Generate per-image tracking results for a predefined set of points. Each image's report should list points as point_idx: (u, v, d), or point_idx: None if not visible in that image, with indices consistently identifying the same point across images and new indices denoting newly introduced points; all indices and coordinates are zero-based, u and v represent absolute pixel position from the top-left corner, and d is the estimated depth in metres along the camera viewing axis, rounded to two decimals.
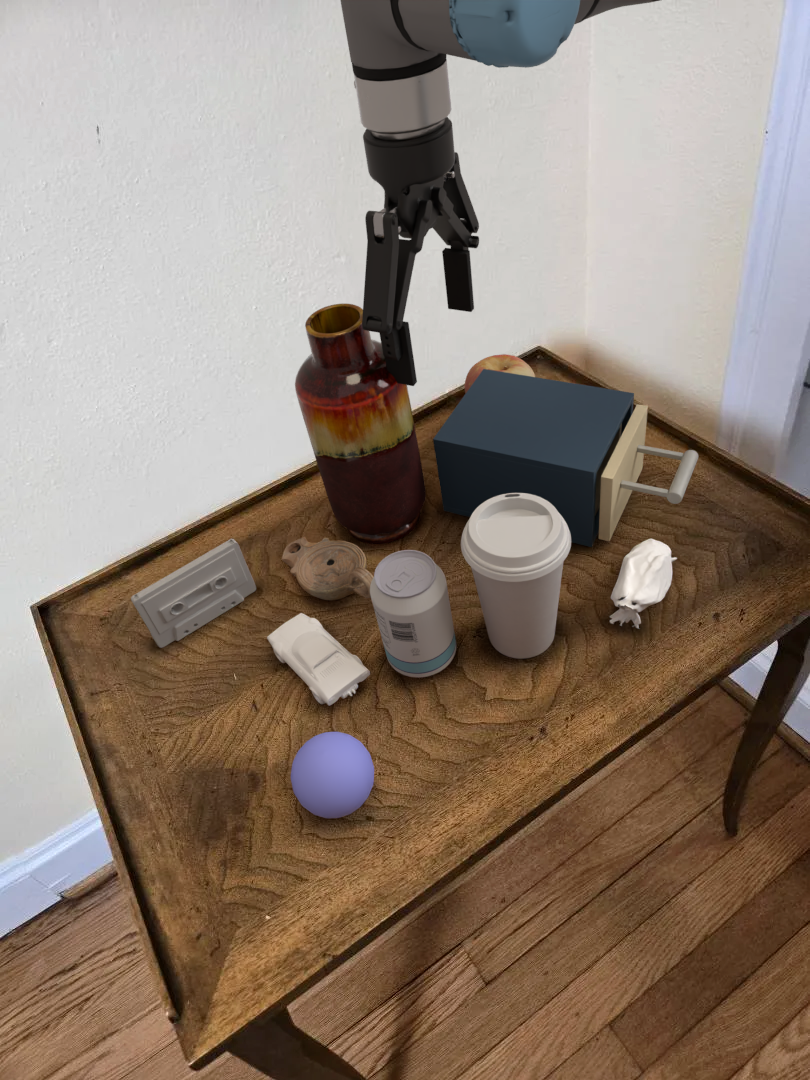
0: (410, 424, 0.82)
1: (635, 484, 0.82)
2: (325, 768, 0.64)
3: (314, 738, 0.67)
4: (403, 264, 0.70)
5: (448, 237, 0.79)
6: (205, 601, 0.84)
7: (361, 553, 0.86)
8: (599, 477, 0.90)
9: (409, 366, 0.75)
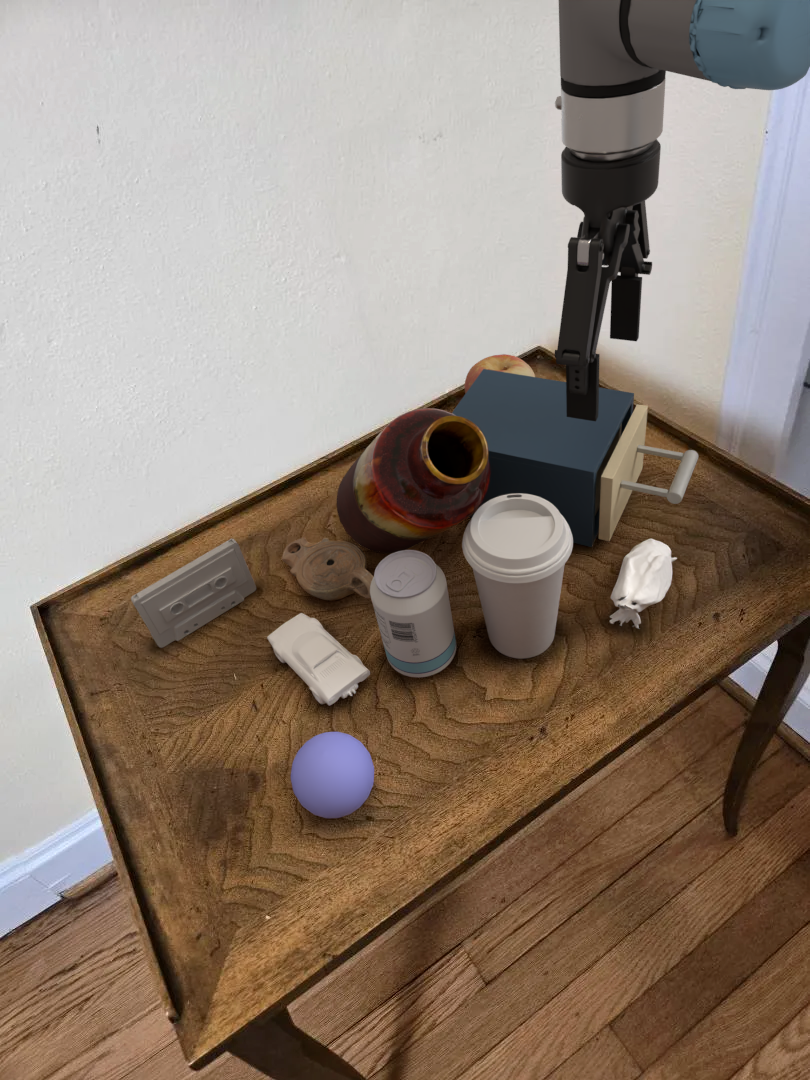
0: None
1: (635, 484, 0.82)
2: (325, 768, 0.64)
3: (314, 738, 0.67)
4: (599, 293, 0.65)
5: (623, 263, 0.74)
6: (205, 601, 0.84)
7: (361, 553, 0.86)
8: (599, 477, 0.90)
9: (594, 400, 0.70)
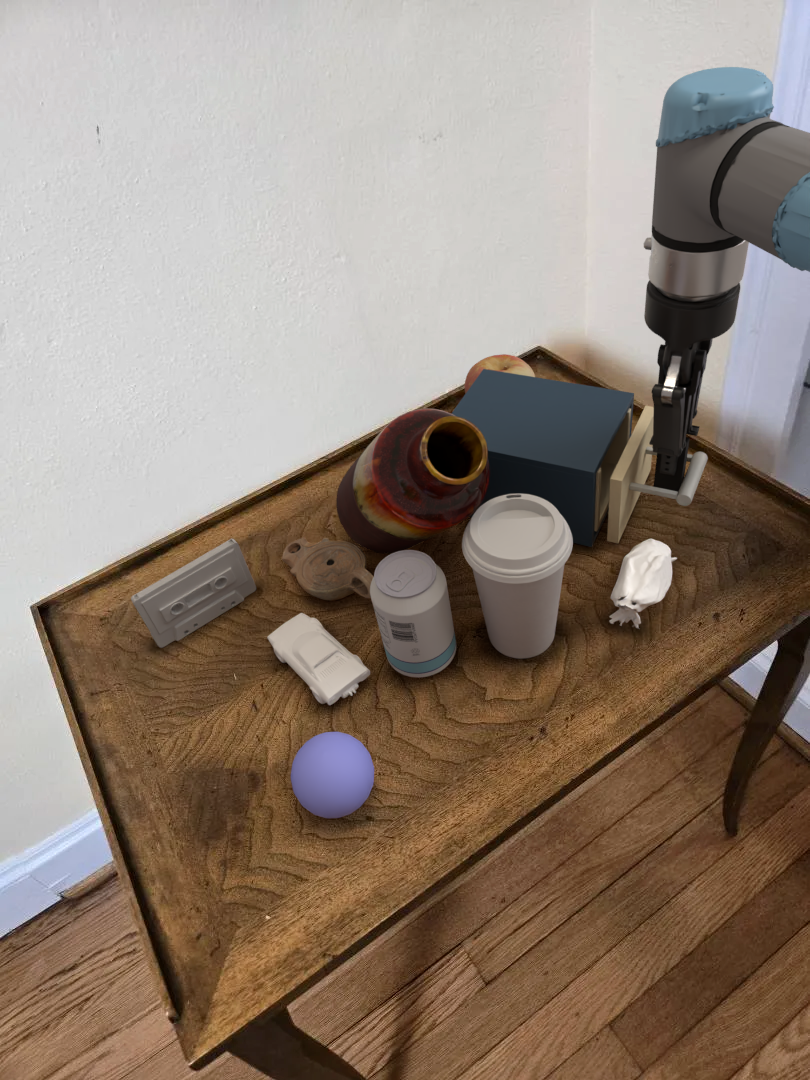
0: None
1: (644, 486, 0.81)
2: (325, 768, 0.64)
3: (314, 738, 0.67)
4: (683, 406, 0.74)
5: None
6: (205, 601, 0.84)
7: (361, 553, 0.86)
8: (607, 479, 0.90)
9: (680, 479, 0.81)
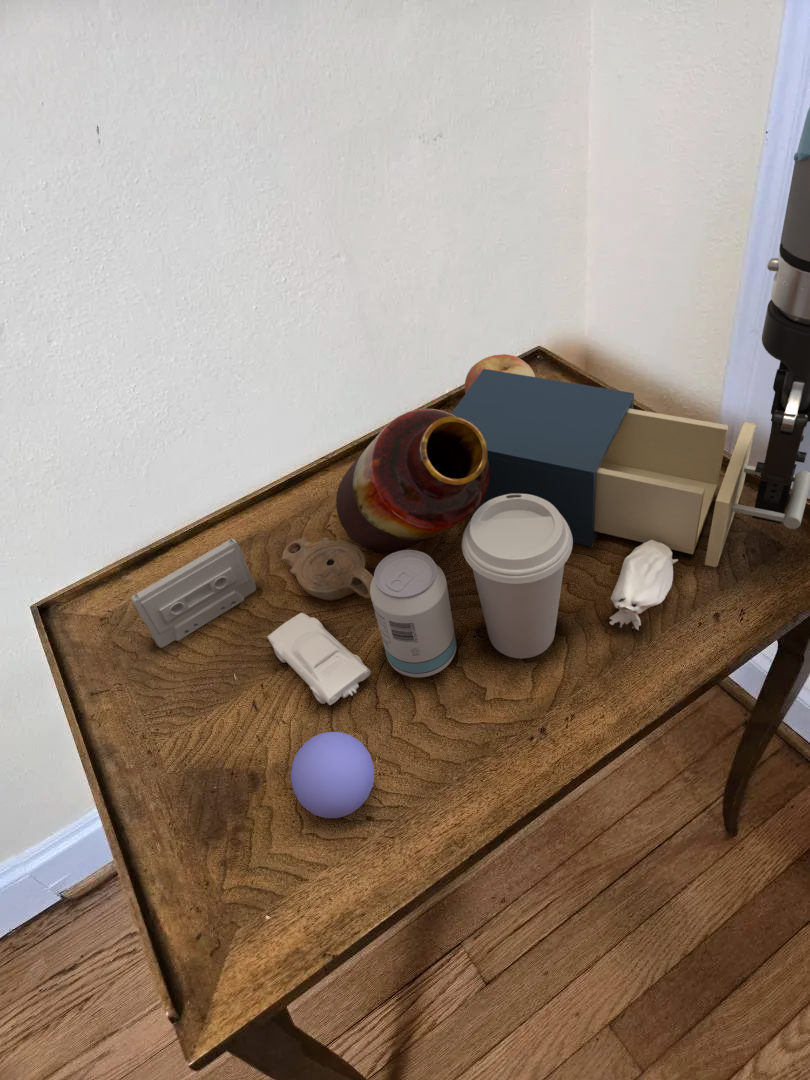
0: None
1: (748, 507, 0.77)
2: (325, 768, 0.64)
3: (314, 738, 0.67)
4: None
5: None
6: (205, 601, 0.84)
7: (361, 553, 0.86)
8: None
9: (783, 507, 0.78)
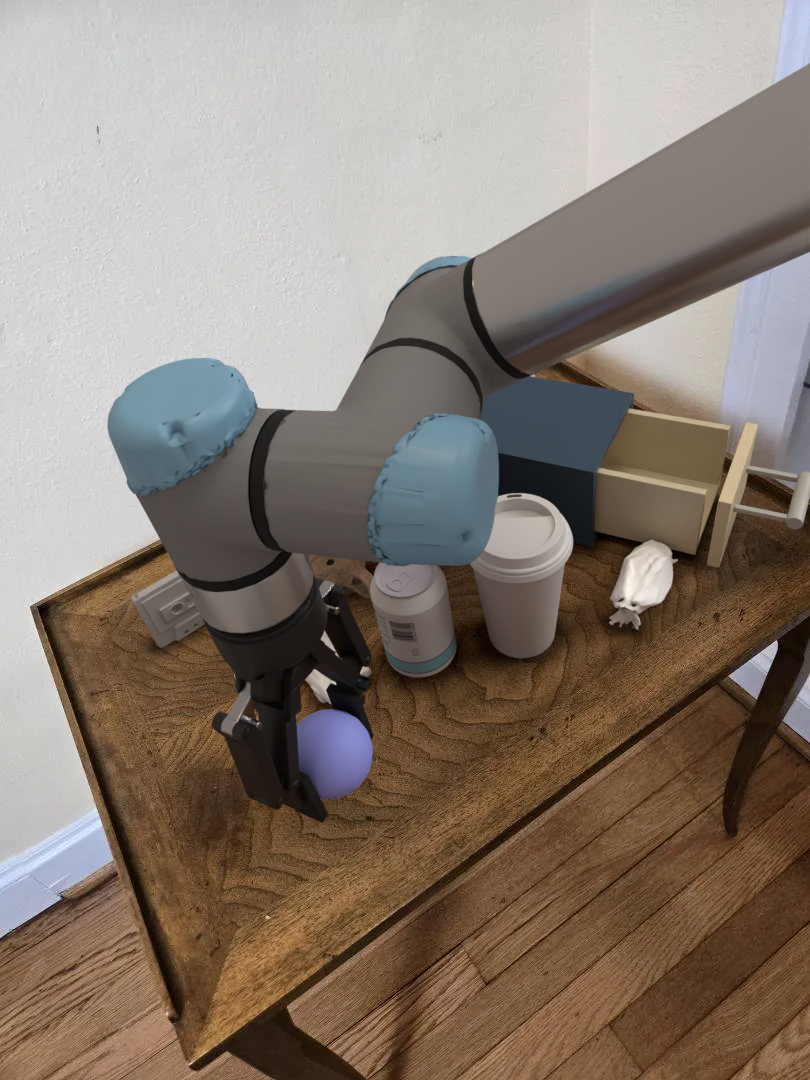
0: None
1: (750, 508, 0.77)
2: (320, 745, 0.61)
3: (309, 716, 0.64)
4: (282, 734, 0.56)
5: (331, 677, 0.63)
6: None
7: None
8: None
9: (315, 809, 0.62)
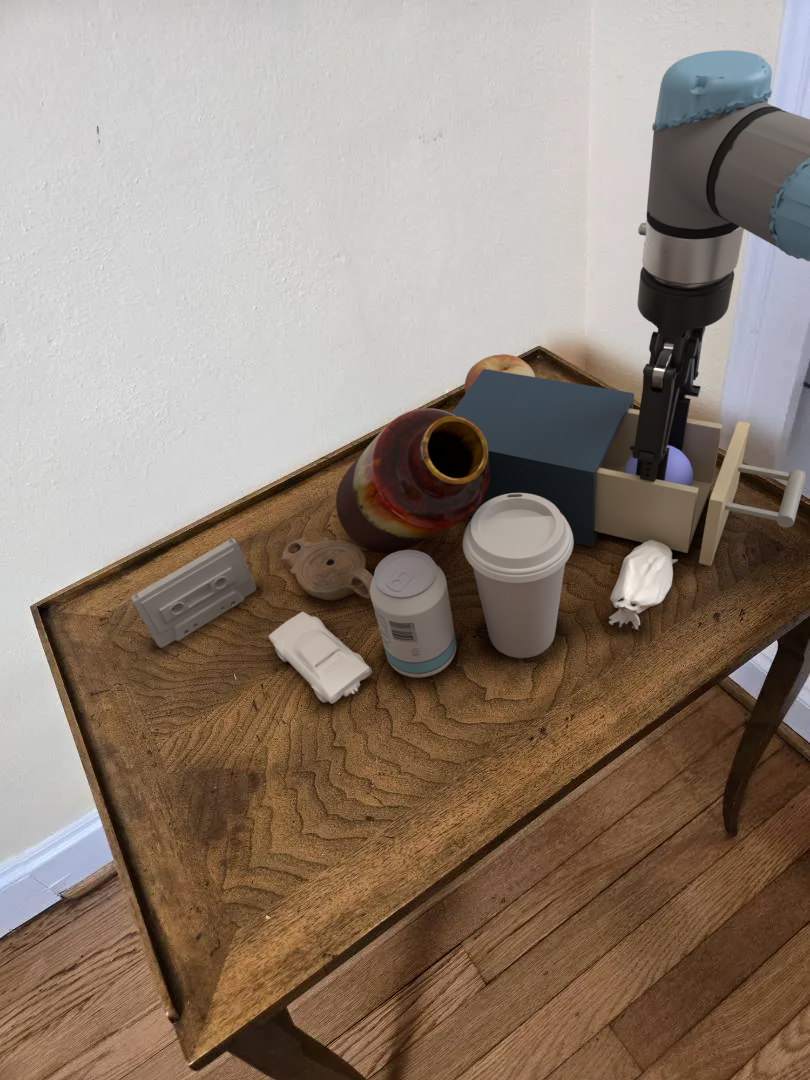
0: None
1: (742, 506, 0.77)
2: None
3: None
4: None
5: None
6: (205, 601, 0.84)
7: (361, 553, 0.86)
8: None
9: None
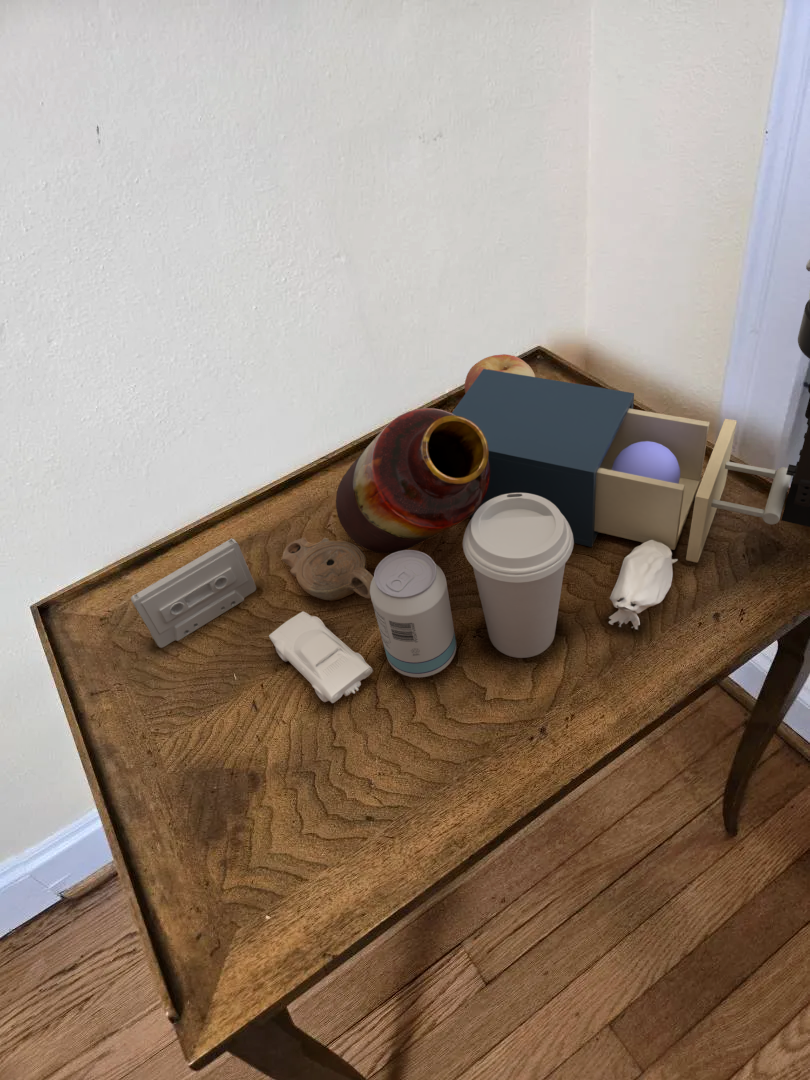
0: None
1: (728, 503, 0.78)
2: (651, 458, 0.81)
3: (632, 444, 0.84)
4: None
5: None
6: (205, 601, 0.84)
7: (361, 553, 0.86)
8: None
9: None
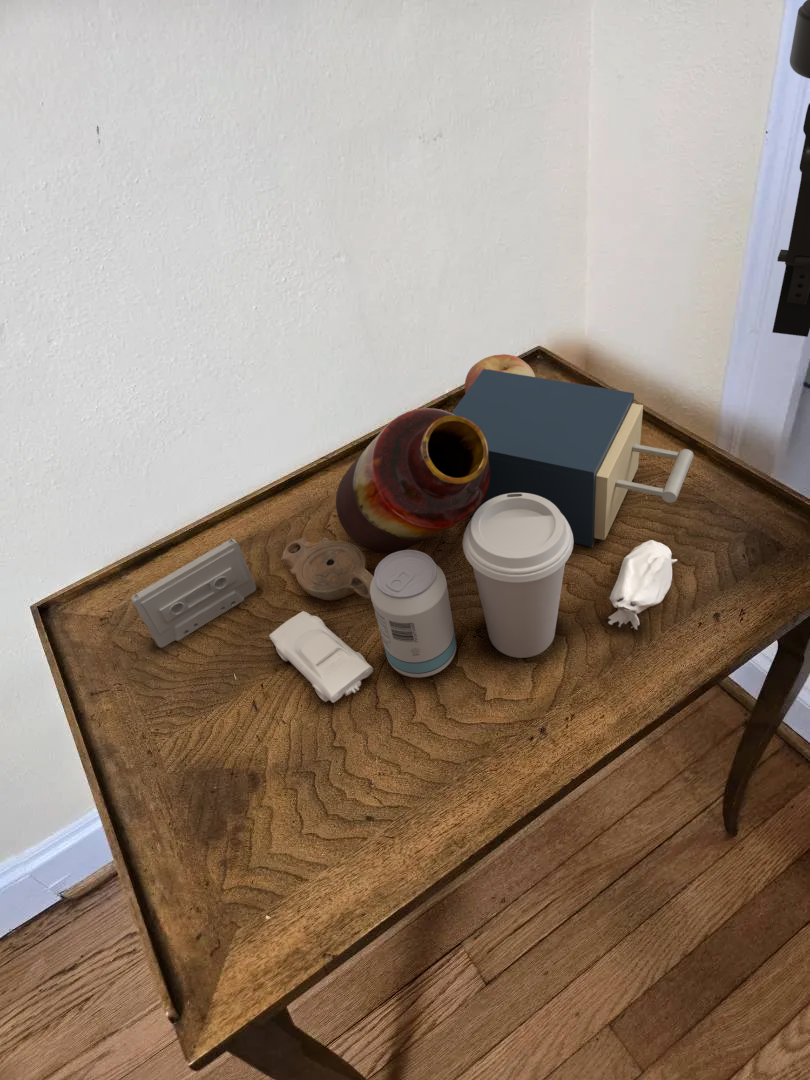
0: None
1: (630, 483, 0.82)
2: None
3: None
4: None
5: None
6: (205, 601, 0.84)
7: (361, 553, 0.86)
8: None
9: None
